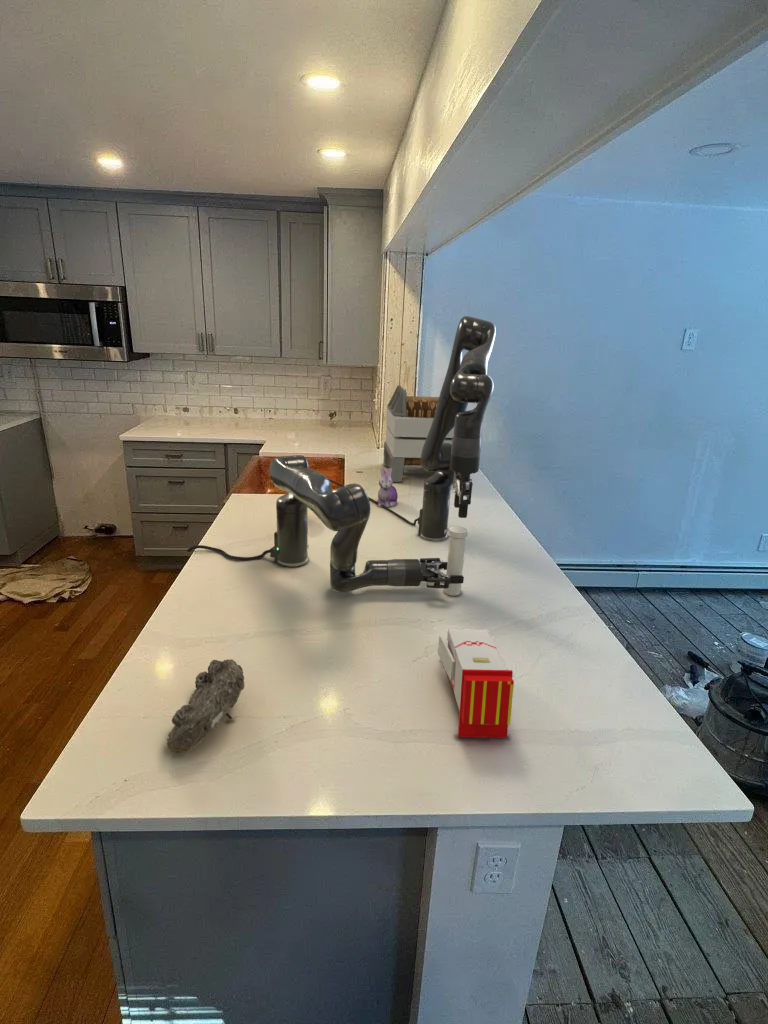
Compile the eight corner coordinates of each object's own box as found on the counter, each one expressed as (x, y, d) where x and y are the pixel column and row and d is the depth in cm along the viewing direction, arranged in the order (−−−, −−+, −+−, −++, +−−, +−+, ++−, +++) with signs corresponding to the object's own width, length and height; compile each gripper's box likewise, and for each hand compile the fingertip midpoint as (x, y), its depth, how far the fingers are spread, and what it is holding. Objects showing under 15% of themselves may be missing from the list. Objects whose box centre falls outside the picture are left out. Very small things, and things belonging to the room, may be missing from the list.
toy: (488, 613, 130) (523, 677, 101) (484, 667, 133) (517, 744, 104) (435, 612, 130) (455, 676, 101) (432, 666, 133) (451, 743, 103)
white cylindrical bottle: (460, 596, 158) (466, 534, 152) (444, 594, 159) (450, 533, 152) (460, 589, 162) (466, 528, 156) (444, 587, 163) (450, 527, 156)
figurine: (382, 509, 223) (384, 472, 218) (371, 501, 232) (372, 465, 226) (403, 506, 227) (405, 470, 222) (391, 498, 236) (393, 463, 231)
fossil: (192, 660, 117) (244, 628, 112) (224, 691, 120) (276, 661, 115) (142, 746, 98) (202, 712, 93) (182, 779, 101) (242, 748, 96)
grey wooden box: (382, 463, 289) (386, 382, 275) (445, 464, 293) (451, 384, 279) (390, 482, 257) (394, 392, 243) (460, 483, 261) (468, 394, 247)
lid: (467, 539, 152) (468, 533, 151) (448, 537, 152) (448, 532, 152) (467, 532, 157) (467, 526, 156) (448, 530, 157) (448, 525, 157)
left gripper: (406, 571, 149) (467, 571, 150) (399, 549, 162) (455, 549, 164) (405, 597, 151) (464, 596, 153) (398, 573, 165) (453, 573, 166)
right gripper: (485, 460, 140) (478, 522, 146) (475, 447, 154) (469, 504, 159) (455, 459, 140) (449, 521, 145) (447, 445, 153) (443, 503, 159)
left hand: (459, 572), depth 158 cm, fingers open, 8 cm apart
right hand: (460, 512), depth 152 cm, fingers open, 7 cm apart
